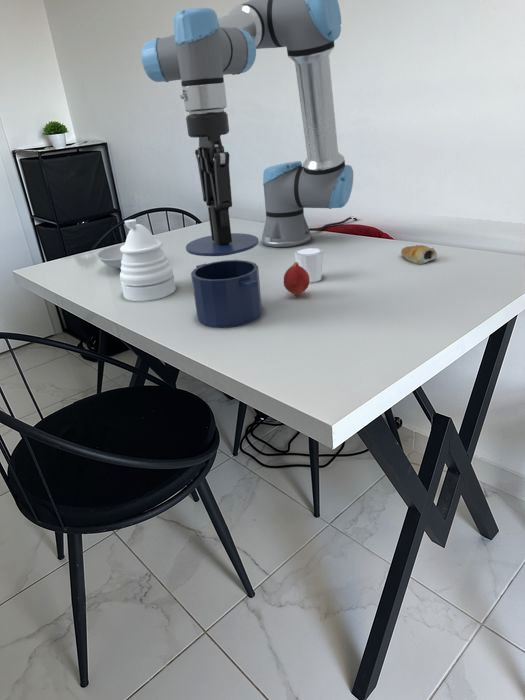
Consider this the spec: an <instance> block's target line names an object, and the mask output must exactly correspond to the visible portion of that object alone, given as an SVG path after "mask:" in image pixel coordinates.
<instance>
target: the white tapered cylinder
mask: <svg viewBox="0 0 525 700" xmlns="http://www.w3.org/2000/svg"><path fill="white" fill-rule="evenodd" d="M294 257H295V262H298V264H299V266H301V267H302V268H304V269H305V270H306V272H307V273H308V275H309V279H310V280H309V283H317V282H320V281H321V280H322V277H323V273H322V272H323V260H324V259H323V258H324V249H322V248H318V247H303V248H299V249H297V250H295V252H294Z"/></svg>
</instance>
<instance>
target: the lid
mask: <svg viewBox="0 0 525 700" xmlns="http://www.w3.org/2000/svg"><path fill="white" fill-rule="evenodd" d="M212 208H215V204H211V205H210V211H211V219H212V227H213V234H214V241H213V240H212V235H207V236H202V237H199V238H196V239H193V240H191V241H190V242H188V243H187V244H186V245H185V251H186V252H187V253H188V254H191V255H194V256H197V257H198V256H199V257H224V256H231V255H237V254H239V253H243V252H247V251H250V250H252V249H254V248H255V247H257V246H258V245H259V243H260V242H259V237H257V236H256V235H253V234H250V233H241V232H239V233H238V232H237V233H236V232H231V237H232V242H230V243H225V244H220V245H219V244H218V241H217V233H216V225H215V217H214V211H212Z"/></svg>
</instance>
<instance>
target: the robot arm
mask: <svg viewBox="0 0 525 700" xmlns="http://www.w3.org/2000/svg"><path fill="white" fill-rule="evenodd" d="M172 22H173V34H172V35H168V36H164V37H156V38H154V39H149V40H147V41H146V42H145V43H144V44H143V46H142V49H141V54H140V55H141V57H140V59H141V63H142V66H143V70H144V72H145V74H146V75H147V77H148V78H149V79H150V80H151V81H153V82H155V83H161V82H162V83H169V82H174V81H180V82H181V90H182V92H181V93H180V94H179V97H180V99H181V100H183V104H184V105H183V106H184V110H185V112H186V113H188V115H186V117H185V121H186V129H187V135H188V137H190V138H198V147H197V149H195V150H194V154H195V158H196V161H197V162H196V163H197V167H198V173H199V180H200V186H201V192H202V200H203V202H204V203H205V204H206V207H207V211H208V212H207V213H208V219H209V226H210V234H211V235H212V240H213V241H214V234H213V227H212V219H211V211H210V205H211V204H215V208H212V211H214V217H215V225H216V233H217V241H218V244H219V245H220V244H225V243H230V242H232V237H231V233H232V229H231V220H230V212H229V209H230V208H232V207H233V198H232V187H231V175H230V153H229V151H225V147H224V145H223V142H222V139H221V136H225V135H227V134H229V132H230V125H229V116H228V115H229V114H228V113H227V111H225V109H226V108H227V107H228V102H227V92H226V84H225V80H224V76H225V75H226V76H227V75H232V76H234V75H241V74H244V73H246V72H248V71H249V70H250V69H251V68H252V67H253V65H254V63H255V61H256V57H257V50H260V49H276V48H277V49H278V48H286V52H287V58H289V59H290V60H291V61H292V62H293V63H294V66H295V73H296V80H297V81H296V82H297V89H298V96H299V105H300V112H301V120H302V127H303V134H304V141H305V149H306V159H305V160H304V161H303V163H302V161H301V160H295V161H289V162H284V163H279V164H275V165H271V166H268V167H266V168H265V169H264V170H263V174H262V176H263V177H262V179H263V180H262V181H263V182H262V186H263V195H264V196H263V197H264V206H265V222H264V225H263V231H262V235H261V243H262V245H264V246H266V247H271V248H292V247H298V246H303V245H305V244H307V243H309V242H311V240H312V238H311V237H312V236H311V232H320V231H322V230H324V229H326V228H328V227H332V226H338V225H342V224H344V223H346V222H348V221H350V220H354V221H358V219H357V217H355V218H353V219H352V218H351V217H352V216H349V217H347V218H346V219H344V220H341V221H338V222H330V223H327V224H324V225H323V226H321V227H319V228H309V225H308V222H307V220H306V217H305V214H304V212H305V211H304V209H329V210H332V209H342V208H344V207H345V206H346V205H347V204H348V202H349V200H350V198H351V196H352V195H351V194H352V190H353V185H354V169H353V166H351V165H350V164H346V159H345V156H344V155H343V154H342V153H341V152H340V151H339V145H338V144H339V143H338V135H337V125H336V123H337V122H336V113H335V103H334V92H333V81H332V71H331V62H330V55H331V54H332V52H333V51H334V50H335V41H336V40H338V39H339V37H340V35H341V32H342V26H341V25H342V14H341V8H340V4H339V1H338V0H248V1H245V2H244V3H243V2H242V3H241V4H239V5H236V6H234V7H233V8H232V9H231V10H230V11H229V12H228V14H226V15H224V16H221V17H219V18H218V15H217V12H216V10H215V9H213V8H211V7H192V8H185V9H181V10H179V11H177V12H175V14H174V15H173V18H172ZM211 235H210V236H211Z"/></svg>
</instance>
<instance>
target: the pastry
mask: <svg viewBox="0 0 525 700" xmlns="http://www.w3.org/2000/svg"><path fill="white" fill-rule="evenodd" d="M400 254H401V255H402V257H403V258H404V259H405V260H406V261H408V262H410V263H413V264H418V265H419V264H420V265H423V264H426V263H428V262H432V261H434V260H435V259H436V258H437V251H436V249H435V248H434V247H429V246H427V245H423V244H421V245H419V244H418V245H410V246H405V247H403V248H401V251H400Z"/></svg>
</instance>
